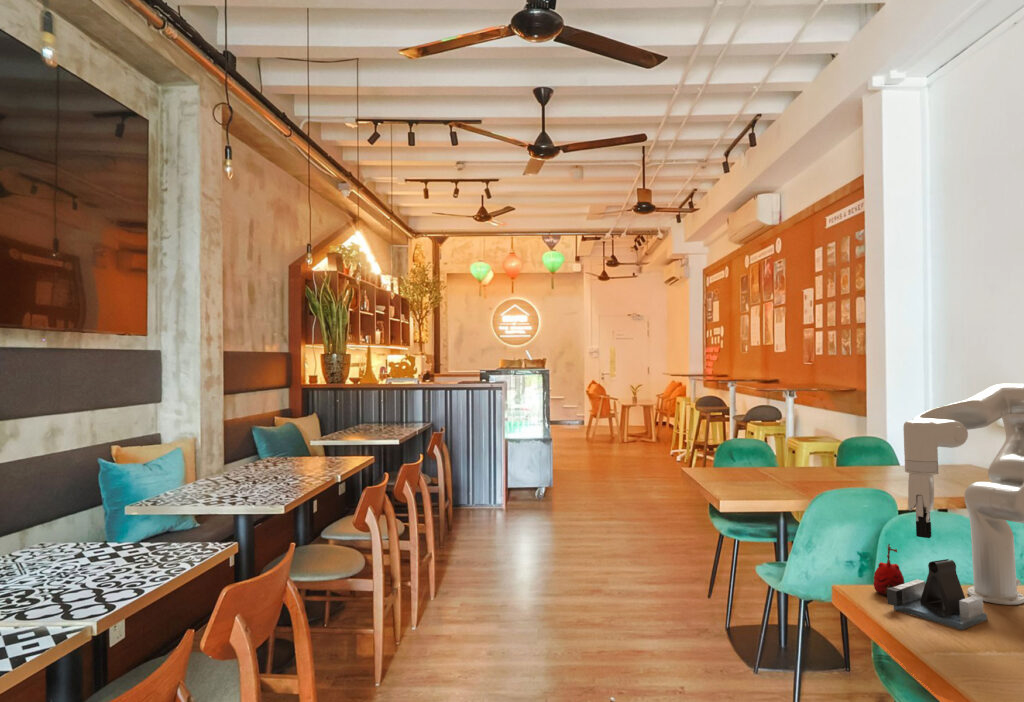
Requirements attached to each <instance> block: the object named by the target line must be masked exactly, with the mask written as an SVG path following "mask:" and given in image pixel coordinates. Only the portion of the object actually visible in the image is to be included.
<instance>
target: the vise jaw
mask: <svg viewBox="0 0 1024 702" xmlns="http://www.w3.org/2000/svg"><path fill="white" fill-rule="evenodd" d="M925 583H926V581H925V580H921V579H914V580H911V581H909V582H904V584H901V585H898V586H895V587H890V588H887V596H886V599H887V605H890V606H893V607H894V606H896V607H898V606H901V605H903V604H905V603H908V602H910V601H913V600H916V599H919V598H921V597H922V593H923V590H924V587H925Z"/></svg>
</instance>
